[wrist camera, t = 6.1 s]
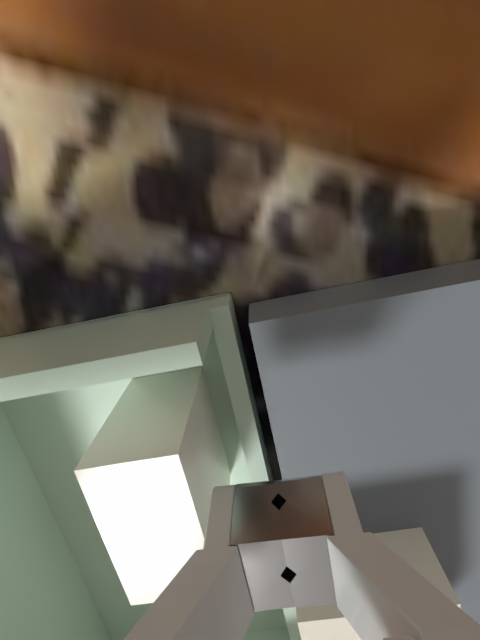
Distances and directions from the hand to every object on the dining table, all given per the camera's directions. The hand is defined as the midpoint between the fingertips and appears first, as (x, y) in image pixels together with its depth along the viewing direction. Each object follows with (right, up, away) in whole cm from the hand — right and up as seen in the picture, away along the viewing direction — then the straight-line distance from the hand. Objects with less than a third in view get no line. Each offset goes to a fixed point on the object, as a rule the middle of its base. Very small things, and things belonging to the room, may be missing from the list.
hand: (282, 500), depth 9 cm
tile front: (-2, 0, +3) cm, 3 cm away
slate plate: (+6, -1, +6) cm, 8 cm away
